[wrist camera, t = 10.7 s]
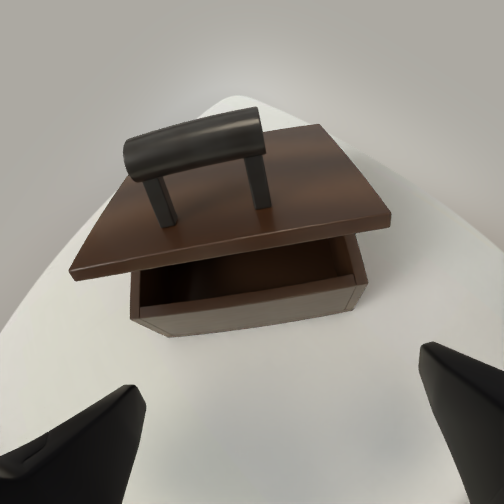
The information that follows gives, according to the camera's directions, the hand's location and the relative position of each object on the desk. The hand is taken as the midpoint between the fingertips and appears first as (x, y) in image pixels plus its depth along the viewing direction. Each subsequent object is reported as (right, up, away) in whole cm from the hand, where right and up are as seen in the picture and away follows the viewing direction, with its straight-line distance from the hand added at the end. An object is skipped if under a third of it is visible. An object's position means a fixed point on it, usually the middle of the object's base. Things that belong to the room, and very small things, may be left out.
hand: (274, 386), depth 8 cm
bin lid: (-2, +7, +8) cm, 11 cm away
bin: (-1, +4, +15) cm, 16 cm away
